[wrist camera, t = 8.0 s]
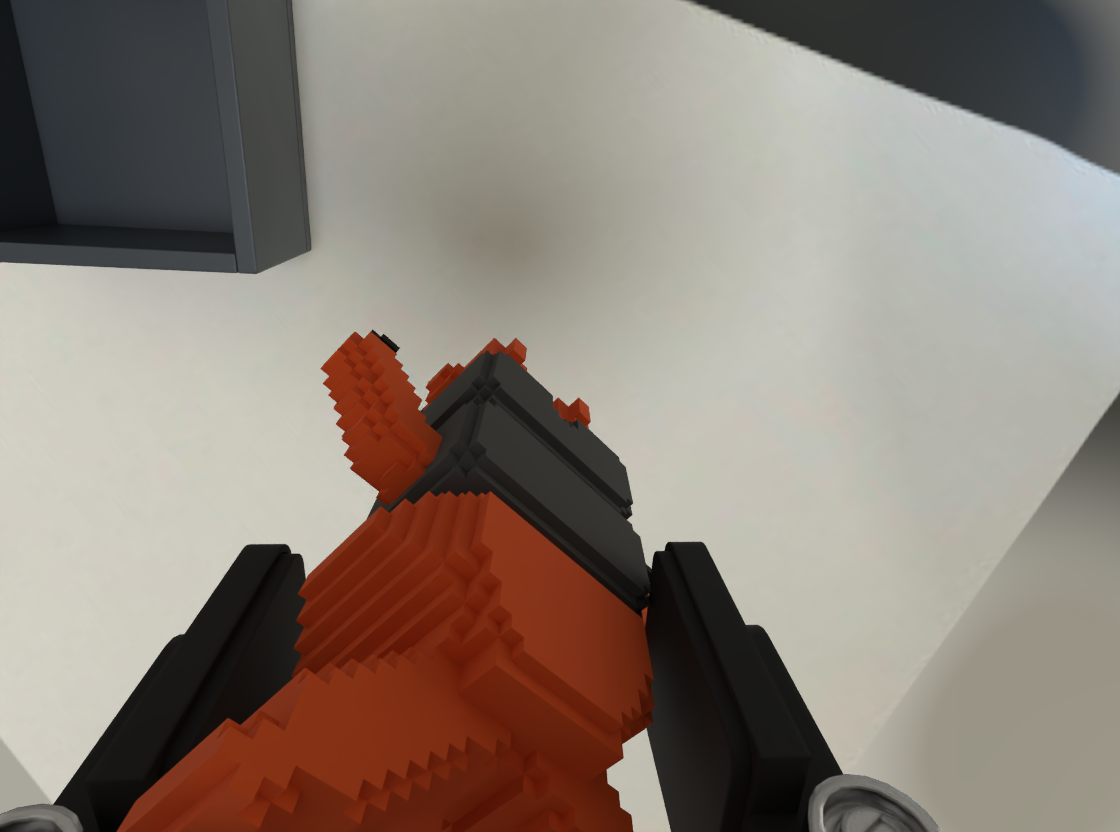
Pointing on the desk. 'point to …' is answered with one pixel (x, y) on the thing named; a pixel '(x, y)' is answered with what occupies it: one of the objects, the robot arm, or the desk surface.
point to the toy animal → (447, 627)
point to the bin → (151, 135)
